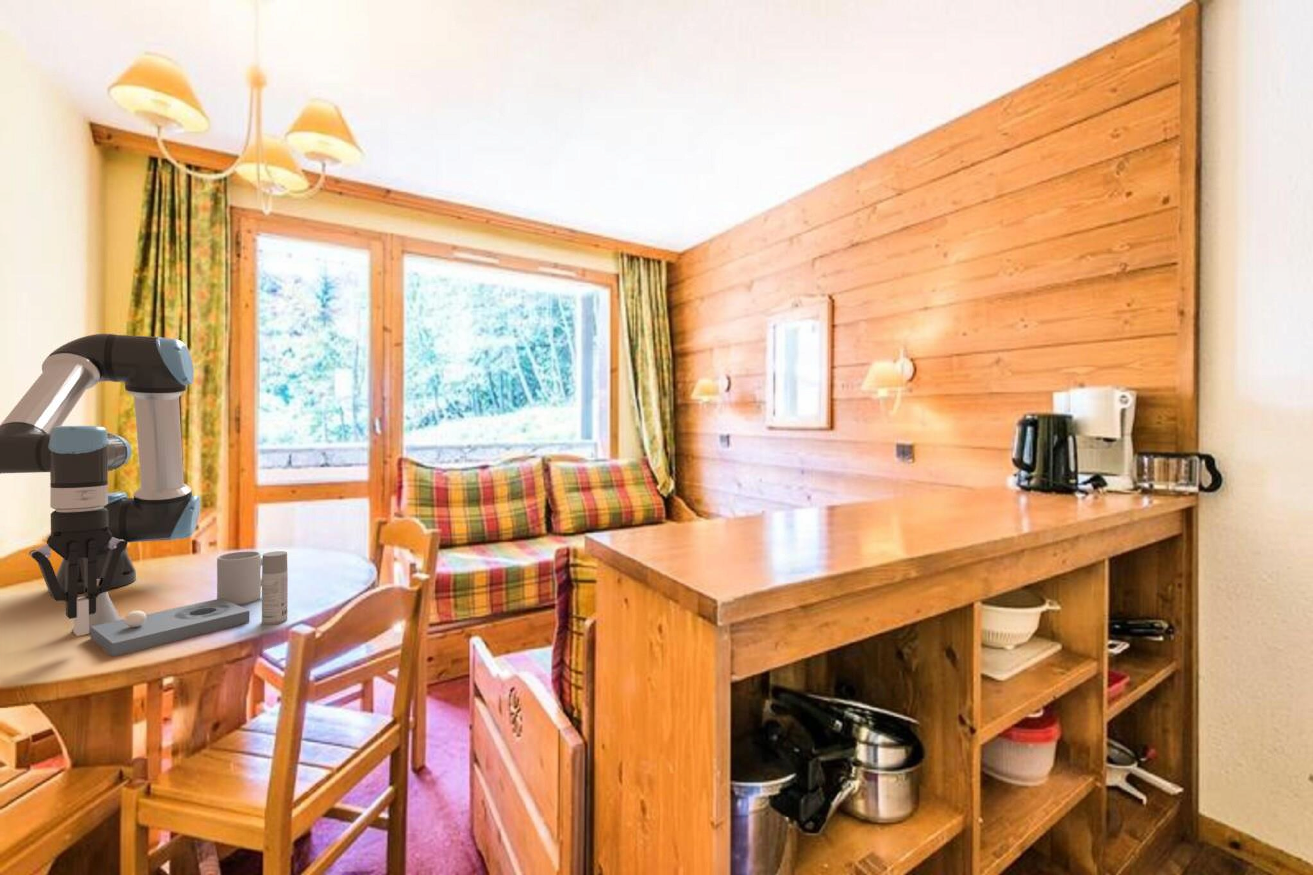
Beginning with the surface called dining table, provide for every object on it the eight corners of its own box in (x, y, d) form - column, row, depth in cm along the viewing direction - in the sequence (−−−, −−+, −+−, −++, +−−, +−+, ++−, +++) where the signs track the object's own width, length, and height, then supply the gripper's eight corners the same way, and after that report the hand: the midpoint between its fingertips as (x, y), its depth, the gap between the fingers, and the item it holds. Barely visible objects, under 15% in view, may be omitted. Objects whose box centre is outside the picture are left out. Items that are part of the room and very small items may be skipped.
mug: (220, 608, 130) (220, 561, 130) (213, 599, 136) (213, 554, 135) (281, 597, 139) (281, 553, 138) (272, 589, 145) (272, 547, 144)
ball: (122, 627, 111) (122, 611, 111) (143, 622, 114) (143, 607, 114) (127, 631, 110) (127, 615, 109) (148, 626, 112) (148, 610, 112)
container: (280, 615, 127) (281, 549, 126) (291, 619, 124) (291, 553, 124) (257, 621, 123) (257, 554, 122) (268, 626, 120) (268, 557, 120)
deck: (90, 638, 111) (90, 626, 111) (222, 608, 130) (222, 597, 130) (112, 656, 104) (112, 643, 104) (249, 621, 122) (249, 610, 122)
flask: (95, 621, 120) (94, 575, 120) (131, 621, 121) (131, 575, 121) (62, 634, 113) (61, 585, 113) (101, 634, 114) (100, 586, 113)
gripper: (33, 515, 97) (35, 649, 98) (133, 506, 108) (133, 627, 109) (23, 510, 101) (25, 639, 102) (120, 502, 112) (121, 618, 113)
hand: (81, 632), depth 105 cm, fingers closed
